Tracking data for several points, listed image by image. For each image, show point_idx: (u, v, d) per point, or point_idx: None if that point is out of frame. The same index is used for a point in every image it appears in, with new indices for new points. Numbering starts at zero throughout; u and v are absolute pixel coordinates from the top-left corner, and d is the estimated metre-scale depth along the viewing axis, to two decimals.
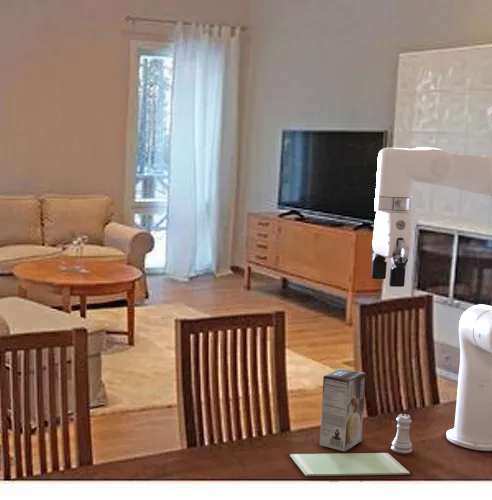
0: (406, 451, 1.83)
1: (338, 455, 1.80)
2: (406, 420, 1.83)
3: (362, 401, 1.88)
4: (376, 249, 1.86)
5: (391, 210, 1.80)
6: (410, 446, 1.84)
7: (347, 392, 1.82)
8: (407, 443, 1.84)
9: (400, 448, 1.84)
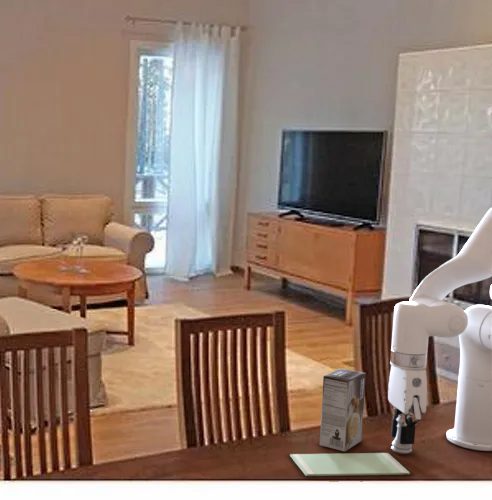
0: (406, 451, 1.83)
1: (338, 455, 1.80)
2: None
3: (362, 401, 1.88)
4: (391, 400, 1.86)
5: (407, 367, 1.79)
6: (410, 446, 1.84)
7: (347, 392, 1.82)
8: None
9: (400, 449, 1.84)
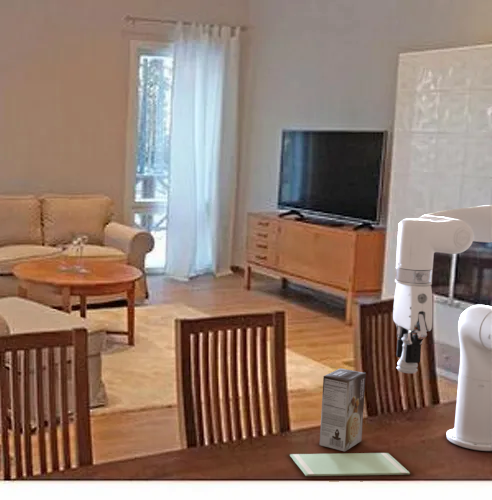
0: (412, 370, 1.81)
1: (338, 455, 1.80)
2: None
3: (362, 401, 1.88)
4: (397, 320, 1.83)
5: (412, 283, 1.77)
6: (416, 365, 1.81)
7: (347, 392, 1.82)
8: None
9: (406, 368, 1.81)
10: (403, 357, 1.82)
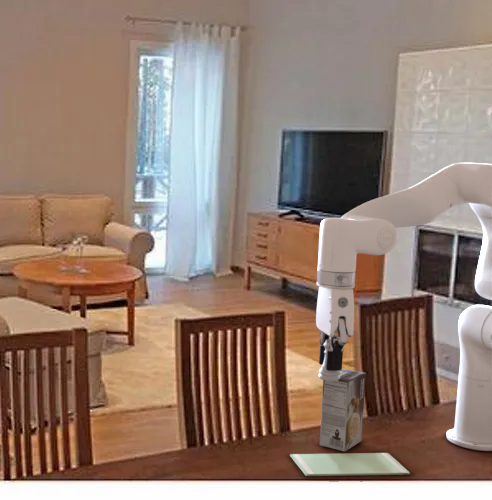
0: (333, 378, 1.71)
1: (338, 455, 1.80)
2: None
3: (362, 401, 1.88)
4: (319, 325, 1.73)
5: (333, 286, 1.67)
6: (338, 373, 1.71)
7: (347, 392, 1.82)
8: None
9: (327, 375, 1.71)
10: (325, 364, 1.72)
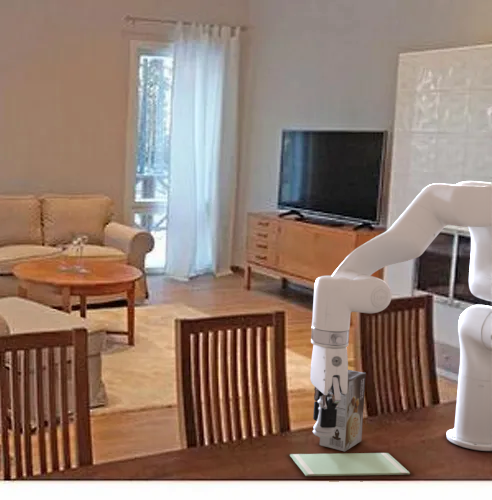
0: (327, 435, 1.72)
1: (338, 455, 1.80)
2: None
3: (362, 401, 1.88)
4: (313, 381, 1.74)
5: (327, 345, 1.68)
6: (332, 429, 1.72)
7: (347, 392, 1.82)
8: None
9: (321, 432, 1.72)
10: (319, 421, 1.73)
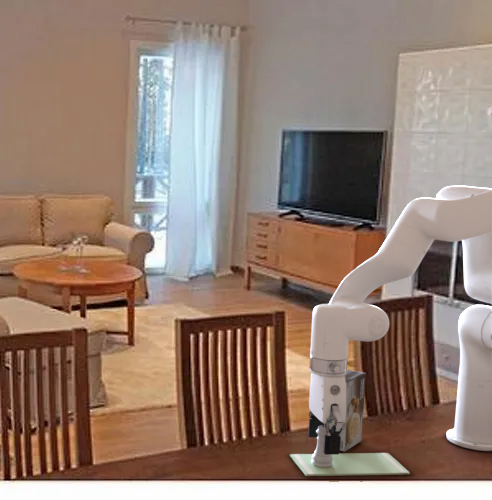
0: (326, 465, 1.73)
1: (338, 455, 1.80)
2: None
3: (362, 401, 1.88)
4: (312, 409, 1.75)
5: (325, 374, 1.69)
6: (330, 459, 1.73)
7: (347, 392, 1.82)
8: (326, 456, 1.73)
9: (320, 462, 1.73)
10: (317, 450, 1.74)
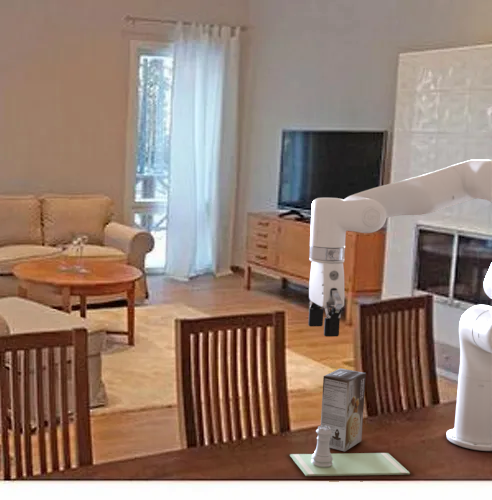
0: (326, 465, 1.73)
1: (338, 455, 1.80)
2: (326, 432, 1.73)
3: (362, 401, 1.88)
4: (312, 298, 1.87)
5: (324, 260, 1.80)
6: (330, 459, 1.73)
7: (347, 392, 1.82)
8: (326, 456, 1.73)
9: (320, 462, 1.73)
10: (317, 450, 1.74)
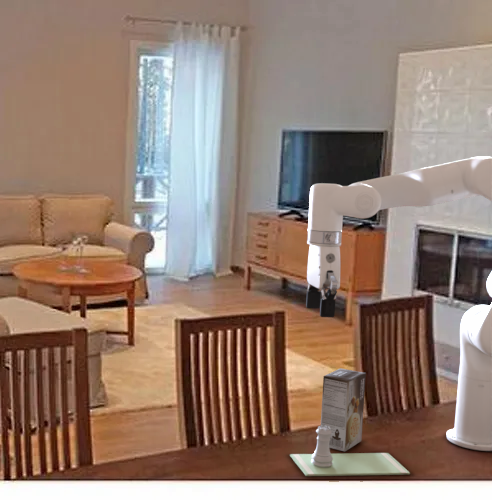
0: (326, 465, 1.73)
1: (338, 455, 1.80)
2: (326, 432, 1.73)
3: (362, 401, 1.88)
4: (309, 280, 1.93)
5: (321, 244, 1.87)
6: (330, 459, 1.73)
7: (347, 392, 1.82)
8: (326, 456, 1.73)
9: (320, 462, 1.73)
10: (317, 450, 1.74)
